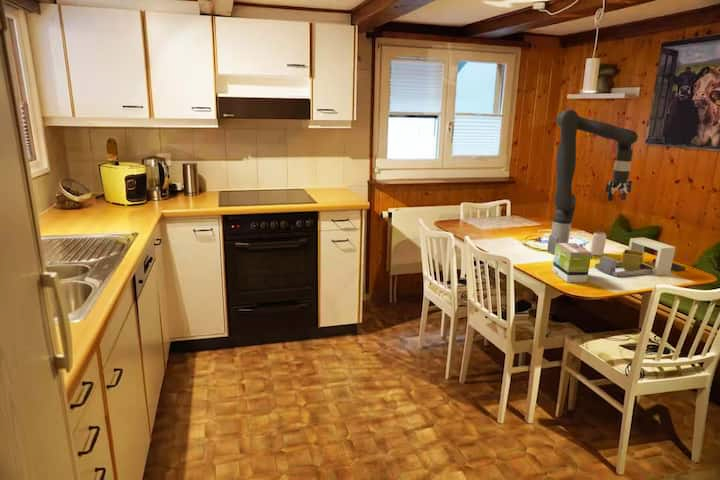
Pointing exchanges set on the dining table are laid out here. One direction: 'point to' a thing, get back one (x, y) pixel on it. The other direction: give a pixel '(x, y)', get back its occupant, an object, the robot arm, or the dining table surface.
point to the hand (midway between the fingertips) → (616, 200)
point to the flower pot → (632, 259)
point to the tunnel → (663, 255)
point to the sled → (610, 265)
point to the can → (598, 243)
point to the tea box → (571, 262)
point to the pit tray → (674, 266)
